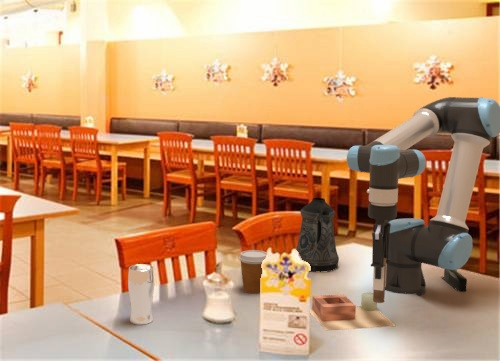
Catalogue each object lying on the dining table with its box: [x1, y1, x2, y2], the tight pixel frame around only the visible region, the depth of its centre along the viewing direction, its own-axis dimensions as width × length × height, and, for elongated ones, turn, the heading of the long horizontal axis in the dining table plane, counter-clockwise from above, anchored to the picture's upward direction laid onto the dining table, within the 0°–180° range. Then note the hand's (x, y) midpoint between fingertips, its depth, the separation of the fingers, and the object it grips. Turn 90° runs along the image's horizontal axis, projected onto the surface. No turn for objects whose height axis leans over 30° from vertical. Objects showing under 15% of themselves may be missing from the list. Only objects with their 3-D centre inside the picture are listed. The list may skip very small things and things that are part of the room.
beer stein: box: [295, 197, 340, 273], centre depth 224 cm, size 16×19×25 cm
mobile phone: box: [440, 269, 468, 292], centre depth 208 cm, size 5×3×15 cm
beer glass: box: [127, 263, 155, 326], centre depth 168 cm, size 7×7×15 cm
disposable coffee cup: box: [238, 249, 268, 294], centre depth 197 cm, size 10×10×12 cm
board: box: [309, 294, 397, 331], centre depth 172 cm, size 20×16×5 cm
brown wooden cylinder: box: [372, 258, 386, 304], centre depth 169 cm, size 3×3×12 cm
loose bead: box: [360, 292, 378, 311], centre depth 180 cm, size 4×4×4 cm
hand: (379, 287), depth 169 cm, fingers closed on brown wooden cylinder, 2 cm apart
